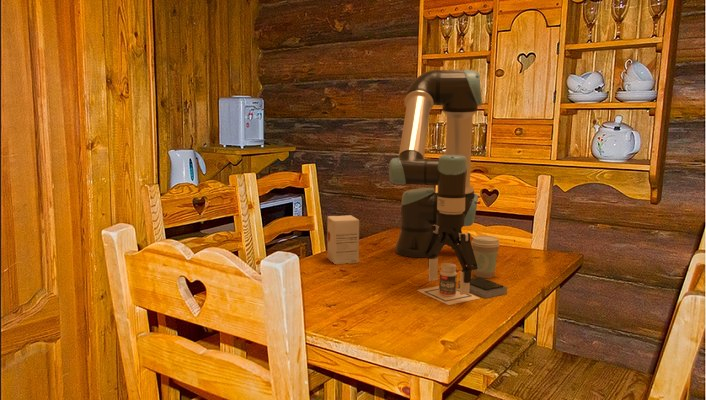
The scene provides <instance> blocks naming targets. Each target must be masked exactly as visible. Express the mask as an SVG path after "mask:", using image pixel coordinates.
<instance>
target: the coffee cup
mask: <svg viewBox="0 0 706 400" xmlns="http://www.w3.org/2000/svg"><path fill="white" fill-rule="evenodd" d="M471 245H472V248H473V252H474V256H475V259H476V263H477V266H478V269H477V270H473V271H474V276H475V278H477V277H481V278H484V279H492V278H494V277H495V271H496V266H497V265H496V264H497V259H498V254H499V253H498V251H499V247H500V246H501V245H500V242H499V238H498V237H495V236H491V235H477V236H474V237H472V240H471Z"/></svg>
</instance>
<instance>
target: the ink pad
mask: <svg viewBox="0 0 706 400" xmlns="http://www.w3.org/2000/svg"><path fill="white" fill-rule="evenodd" d="M458 289H460V280H459V281H458ZM469 293H470V294H472V295H475V296H476V295H477V297H480V298H484V299H489V298H494V297H498V296H503V295H507V294H508V286H505V285H502V284H500V283H497V282H494V281H492V280H489V279H488V278H481V277H473V278H472V277H471V282H470V288H469Z"/></svg>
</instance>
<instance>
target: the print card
mask: <svg viewBox="0 0 706 400" xmlns="http://www.w3.org/2000/svg"><path fill="white" fill-rule="evenodd" d="M416 291H417V292H419V293H421V294H423V295H425V296H427V297H430V298H431V299H434V300H437V301H438V302H441V303H443V304H445V305H447V306H451V305H452V306H453V305H457V304H462V303H466V302H472V301H475V300H480V299H481V297H480V296H476V295H475V294H473V293H470V292H469V293H468V294H464V295H461V294H460V288H457V287H456V295H454V296H442V295H440V294H439V285H436V286H432V287H431V286H430V287H426V288H421V289H416Z"/></svg>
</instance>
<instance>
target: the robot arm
mask: <svg viewBox="0 0 706 400" xmlns="http://www.w3.org/2000/svg"><path fill="white" fill-rule="evenodd" d="M480 75H481V74H480V73H479V72H478V71H477V70H474V69H433V70H432V69H431V70H429V71H425V72H424V73H421V74H420V75H418V76H417V77H416V78H415V79H414V80H413V82H411V84H410V85H409V87H408V88H407V89H406V92H405V95H404V103H403V104H404V106H405V108H406V109H405V114H404V122H403V128H402V134H401V138H400V145H399V152H398V157H395V158H394V157H393V158H390V159H391V160H389V165H388V178H389V181H390V183H392V184H396V185H397V184H398V185H404V186H406V185H417V186H418V185H422V186H423V185H425V186H426V185H427V186H437V192H436V190H435V188H434V187H419V188H414V189H408V190H406V191H403V193H402V195H401V203H400V206H401V207H400V208H401V215H400V233H399V236H398V238H397V243H396V244H395V253H396V254H397V255H401V256H403V257H410V258H411V257H412V258H427V260H428V261H427V269H428V276H427V277H428V282H433V281H438V274H439V273H438V270H439V258H438V257H439V256H438V255H439V253H440V252H441V250H442V249H443V247H444V246H448V247H451V249H452V250H453V251H454V253H455V255H456V257H457V259H458V261H459V264H460V266H461V268H462V269H461V270H460V277H459V279H460V280H459V281H460V288H459V290H460V294H461V295H464V294H468V293H469V294H470V292H469V288H470V282H471V279H472V271H474V270H477V269H478V266H477V263H476V259H475V256H474V252H473V245H472V244H471V243H472V240H471V233H469V232H465V233H464V232H463V231H462V228H463V227H470V226H472V225H474V222H475V217H476V212H477V207H478V201H479V194H478V193H476V192H475V188H474V187H473V186H472V185H471V166H472V163H471V162H472V143H473V141H472V140H473V119H474V118H473V116H474V115H475V114H476V113H477V112H478V107H481V106H482V105H483V98H482V97H483V96H482V88H481V87H482V85H481V76H480ZM434 106H441V107H442V112H443V114H444V115H445V116H446V127H445V128H446V129H445V134H446V135H445V154H442V155H440V156H439V157H438V158H437V159H436V158H425V152H426V144H427V134H428V126H429V119H430V111H431V110H432V109H433V107H434Z"/></svg>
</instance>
